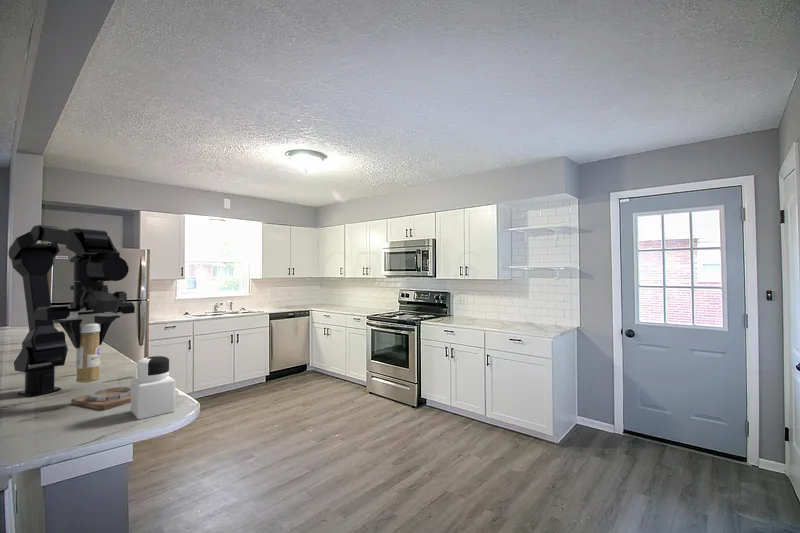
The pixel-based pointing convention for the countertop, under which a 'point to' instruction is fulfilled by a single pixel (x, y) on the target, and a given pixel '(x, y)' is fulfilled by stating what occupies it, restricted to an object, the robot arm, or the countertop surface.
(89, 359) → the sprinkles bottle
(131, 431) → the countertop surface
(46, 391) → the robot arm
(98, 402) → the display stand
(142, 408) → the medicine bottle
